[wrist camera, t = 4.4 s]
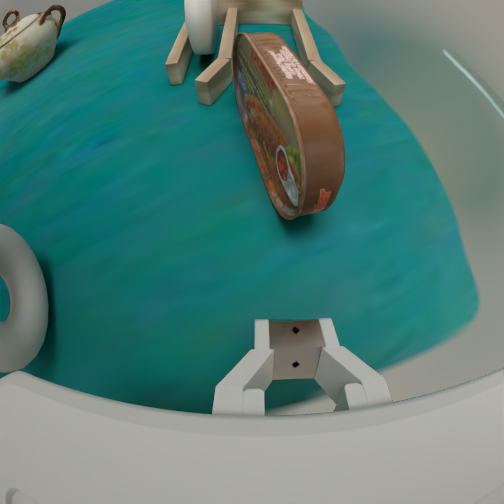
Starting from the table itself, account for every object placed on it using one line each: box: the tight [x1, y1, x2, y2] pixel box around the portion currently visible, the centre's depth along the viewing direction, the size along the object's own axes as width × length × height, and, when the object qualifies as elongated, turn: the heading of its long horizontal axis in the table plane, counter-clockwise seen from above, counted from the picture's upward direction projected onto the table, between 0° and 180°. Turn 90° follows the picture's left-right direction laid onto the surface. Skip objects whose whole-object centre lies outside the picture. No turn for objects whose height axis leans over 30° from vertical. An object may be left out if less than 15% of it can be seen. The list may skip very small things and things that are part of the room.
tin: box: [232, 33, 345, 220], centre depth 16 cm, size 15×3×8 cm, turn 15°
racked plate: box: [185, 0, 218, 55], centre depth 20 cm, size 2×11×11 cm, turn 0°
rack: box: [165, 0, 346, 107], centre depth 23 cm, size 16×19×4 cm
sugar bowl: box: [0, 5, 66, 82], centre depth 22 cm, size 20×15×15 cm
